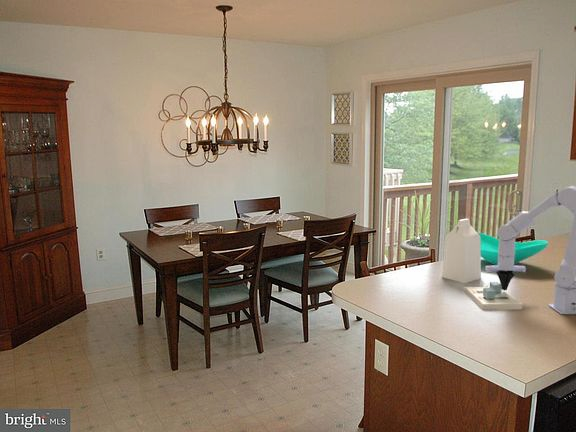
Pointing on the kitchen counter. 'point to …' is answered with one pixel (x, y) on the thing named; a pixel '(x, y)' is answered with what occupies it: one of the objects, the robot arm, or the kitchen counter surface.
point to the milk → (462, 253)
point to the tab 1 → (489, 293)
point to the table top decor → (521, 249)
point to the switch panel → (500, 301)
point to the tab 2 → (496, 286)
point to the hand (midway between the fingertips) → (504, 289)
